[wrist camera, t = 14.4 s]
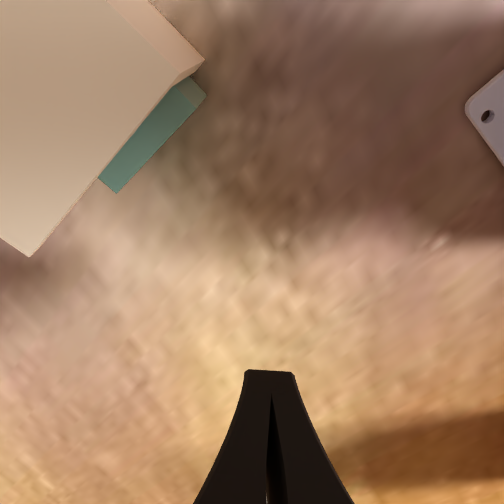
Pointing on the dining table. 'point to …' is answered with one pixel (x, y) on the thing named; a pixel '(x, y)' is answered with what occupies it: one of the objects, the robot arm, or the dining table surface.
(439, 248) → the dining table surface
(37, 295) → the dining table surface
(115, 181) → the teal block
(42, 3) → the beige flanged peg
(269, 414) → the robot arm
